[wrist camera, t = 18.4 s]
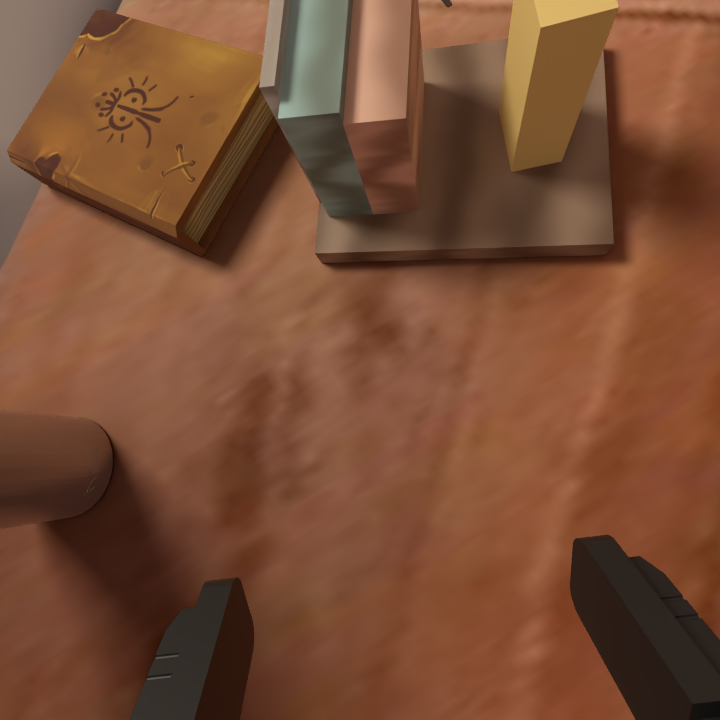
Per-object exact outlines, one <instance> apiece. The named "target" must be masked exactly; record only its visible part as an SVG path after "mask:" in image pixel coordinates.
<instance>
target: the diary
mask: <svg viewBox="0 0 720 720" xmlns="http://www.w3.org/2000/svg"><path fill="white" fill-rule="evenodd" d="M262 61H263V56H261V55H257V54H254V53H250V52H247V51H244V50H240V49H237V48H233V47H230V46H226V45H223V44H219V43H216V42H212V41H209V40H205V39H202V38H198V37H195V36H191V35H188V34H185V33H181V32H178V31H174V30H171V29H167V28H164V27H160V26H157V25H153V24H150V23H146V22H143V21H139V20H136V19H132V18H129V17H126V16H122V15H119V14H115V13H111V12H108V11H104V10H101V9H96V11H95V12H94V14H93V15H92V17H91V18H90V20H89V22H88V23H87V25H86V26H85V28H84V30H83V31H82V33H81V34H80V36H79V37H78V39H77V41H76V42H75V44H74V45H73V47H72V49H71V50H70V52H69V53H68V55H67V56H66V58H65V60H64V61H63V63H62V64H61V66H60V67H59V69H58V71H57V72H56V74H55V75H54V77H53V78H52V80H51V82H50V83H49V85H48V86H47V88H46V89H45V91H44V93H43V94H42V96H41V97H40V99H39V101H38V102H37V104H36V105H35V107H34V108H33V110H32V112H31V113H30V115H29V116H28V118H27V120H26V121H25V123H24V124H23V126H22V127H21V129H20V130H19V132H18V134H17V135H16V137H15V138H14V140H13V141H12V143H11V145H10V146H9V148H8V149H7V151H8V154H9V157H10V160H11V162H12V163H13V164H15V165H17V166H18V167H20V168H21V169H23V170H24V171H26V172H27V173H29V174H30V175H32V176H33V177H35V178H36V179H38V180H39V181H41V182H42V183H44V184H46V185H48V186H50V187H52V188H55V189H57V190H59V191H61V192H63V193H65V194H67V195H70V196H72V197H74V198H76V199H78V200H80V201H82V202H85V203H87V204H89V205H91V206H93V207H95V208H98V209H100V210H102V211H104V212H106V213H108V214H110V215H113V216H115V217H117V218H119V219H121V220H123V221H126V222H128V223H130V224H132V225H134V226H136V227H138V228H141V229H143V230H145V231H147V232H149V233H151V234H153V235H156V236H158V237H160V238H162V239H164V240H166V241H169V242H171V243H173V244H175V245H177V246H179V247H181V248H184V249H186V250H188V251H190V252H192V253H194V254H196V255H199V256H202V255H205V253H206V252H207V250H208V248H209V246H210V245H211V243H212V241H213V239H214V238H215V236H216V234H217V232H218V231H219V229H220V227H221V225H222V224H223V222H224V220H225V218H226V217H227V215H228V213H229V211H230V210H231V208H232V206H233V204H234V203H235V201H236V199H237V197H238V195H239V194H240V192H241V190H242V188H243V187H244V185H245V183H246V181H247V180H248V178H249V176H250V174H251V173H252V171H253V169H254V167H255V166H256V164H257V162H258V160H259V159H260V157H261V155H262V153H263V152H264V150H265V148H266V146H267V145H268V143H269V141H270V139H271V138H272V136H273V134H274V132H275V131H276V129H277V127H278V125H279V124H278V122H277V120H276V119H275V117H274V115H273V113H272V111H271V109H270V107H269V105H268V103H267V102H266V100H265V98H264V96H263V94H262V92H261V90H260V88H259V85H260V77H261V69H262Z"/></svg>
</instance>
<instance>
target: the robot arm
mask: <svg viewBox="0 0 720 720" xmlns="http://www.w3.org/2000/svg"><path fill="white" fill-rule="evenodd" d="M112 467H113V454H112V448H111V444H110V441H109V439H108V437H107V435H106V434H105V432H104V431H103V430H102V429H101V427H100V426H99V425H97V424H96V423H94V422H93V421H91V420H87V419H84V418H76V417H66V416H56V415H47V414H38V413H27V412H17V411H7V410H0V529H4V528H10V527H16V526H22V525H28V524H35V523H41V522H47V521H53V520H59V519H64V518H70V517H75V516H77V515H80V514H83V513H84V512H86V511H87V510H89V509H90V508H91V507H92V506H93V505H94V504H95V503H96V502H97V501H98V500H99V499H100V498H101V496H102V495H103V493H104V492H105V490H106V488H107V485H108V483H109V481H110V477H111V473H112ZM570 590H571V596H572V600H573V603H574V606H575V609H576V611H577V613H578V615H579V617H580V619H581V621H582V623H583V625H584V626H585V628H586V630H587V632H588V634H589V635H590V637H591V639H592V641H593V643H594V645H595V646H596V648H597V650H598V652H599V654H600V655H601V657H602V659H603V661H604V663H605V665H606V666H607V668H608V670H609V672H610V674H611V675H612V677H613V679H614V681H615V683H616V685H617V686H618V688H619V690H620V692H621V694H622V695H623V697H624V699H625V701H626V703H627V705H628V706H629V708H630V710H631V712H632V714H633V715H634V717H635V719H636V720H720V640H719V639H718V637H717V636H716V635H715V634H714V633H713V631H712V630H711V629H710V628H709V627H708V625H707V624H706V623H705V622H704V621H703V619H700V618H699V617H698V613H697V612H696V611H695V610H694V609H693V607H692V606H691V605H690V604H689V603H688V601H687V600H684V599H683V597H682V594H681V593H680V592H679V591H678V589H677V588H676V587H675V586H674V585H673V583H672V582H671V581H670V580H669V579H668V577H667V576H666V575H665V574H664V573H663V572H661V571H660V570H659V569H657V568H656V567H654V566H653V565H652V564H650V563H649V562H647V561H646V560H645V559H643V558H642V557H640V556H637V557H628V556H627V555H626V553H625V552H624V551H623V550H622V548H621V547H620V546H619V544H618V543H617V542H616V541H615V539H614V538H613V537H611V536H610V535H601V536H593V537H584V538H576V539H575V540H574V542H573V551H572V565H571V579H570ZM253 646H254V627H253V621H252V617H251V614H250V610H249V607H248V604H247V600H246V597H245V593H244V590H243V587H242V583H241V581H240V579H239V578H230V579H221V580H213V581H207V582H205V584H204V585H203V587H202V590H201V593H200V595H199V598H198V601H197V604H196V607H194V608H186V609H182V610H181V612H180V613H179V614H178V615H177V617H176V618H175V619H174V621H173V622H172V623H171V624H170V626H169V627H168V628H167V629H166V631H165V633H164V636H163V638H162V641H161V643H160V646H159V648H158V651H157V653H156V659H155V660H153V663H152V665H151V668H150V670H149V673H148V675H147V681H145V683H144V685H143V688H142V690H141V693H140V695H139V698H138V700H137V703H136V705H135V708H134V710H133V712H132V715H131V717H130V720H239V719H240V714H241V709H242V704H243V699H244V694H245V689H246V684H247V679H248V673H249V668H250V663H251V658H252V653H253Z"/></svg>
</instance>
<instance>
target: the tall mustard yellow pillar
mask: <svg viewBox="0 0 720 720" xmlns="http://www.w3.org/2000/svg"><path fill="white" fill-rule="evenodd" d="M618 8H619V6H618V3H617V0H513V8H512V15H511V23H510V30H509V38H508V46H507V53H506V61H505V68H504V76H503V83H502V91H501V98H500V106H499V115H500V120H501V125H502V130H503V135H504V140H505V145H506V150H507V155H508V159H509V164H510V169H511V172H514V171H519V170H524V169H529V168H533V167H538V166H543V165H548V164H552V163H557V162H562V159H563V157H564V154H565V151H566V149H567V146H568V143H569V141H570V138H571V135H572V132H573V130H574V127H575V124H576V122H577V119H578V116H579V114H580V111H581V108H582V105H583V103H584V100H585V97H586V95H587V92H588V89H589V87H590V84H591V81H592V78H593V76H594V73H595V70H596V68H597V65H598V62H599V60H600V57H601V54H602V51H603V49H604V46H605V43H606V41H607V38H608V35H609V33H610V30H611V27H612V24H613V22H614V19H615V16H616V14H617V11H618Z"/></svg>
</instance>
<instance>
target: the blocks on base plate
mask: <svg viewBox="0 0 720 720" xmlns="http://www.w3.org/2000/svg"><path fill="white" fill-rule="evenodd" d="M507 46H508V39H506V40H498V41H491V42H483V43H475V44H467V45H459V46H451V47H443V48H436V49H428V50H422V46H421V33H420V20H419V7H418V0H270V5H269V13H268V21H267V29H266V37H265V45H264V53H263V61H262V69H261V77H260V85H259V88H260V90H261V92H262V94H263V96H264V98H265V100H266V102H267V103H268V105H269V107H270V109H271V111H272V113H273V115H274V117H275V119H276V120H277V122H278V124H279V126H280V128H281V130H282V132H283V134H284V135H285V137H286V139H287V141H288V143H289V145H290V147H291V149H292V151H293V152H294V154H295V156H296V158H297V160H298V162H299V164H300V166H301V168H302V169H303V171H304V173H305V175H306V177H307V179H308V181H309V183H310V185H311V186H312V188H313V190H314V192H315V194H316V196H317V198H318V200H319V202H320V205H319V216H318V227H317V238H316V250H315V254H316V255H317V257H318V258H319V260H320V261H321V263H334V262H371V261H407V260H444V259H480V258H517V257H553V256H590V255H606V254H607V252H608V251H609V250H610V248H611V247H612V246H613V244H614V235H613V217H612V198H611V180H610V161H609V142H608V124H607V105H606V87H605V68H604V50H603V51H602V54H601V57H600V60H599V62H598V65H597V68H596V70H595V73H594V76H593V78H592V81H591V84H590V87H589V89H588V92H587V95H586V97H585V100H584V103H583V105H582V108H581V111H580V114H579V116H578V119H577V122H576V124H575V127H574V130H573V132H572V135H571V138H570V141H569V143H568V146H567V149H566V151H565V154H564V157H563V159H562V162H557V163H552V164H548V165H543V166H538V167H533V168H529V169H524V170H519V171H514V172H511V169H510V164H509V159H508V155H507V150H506V145H505V140H504V135H503V130H502V125H501V120H500V115H499V106H500V98H501V91H502V83H503V76H504V68H505V61H506V53H507Z"/></svg>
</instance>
